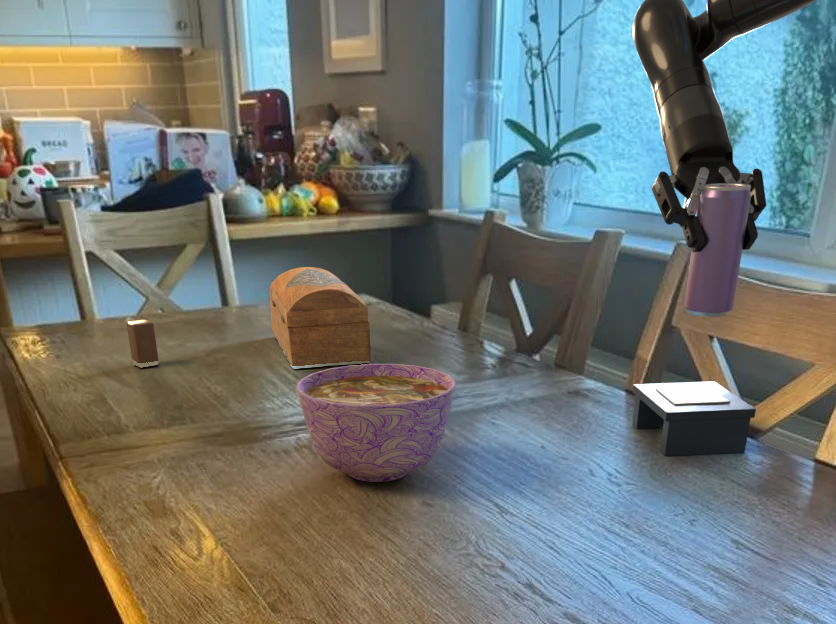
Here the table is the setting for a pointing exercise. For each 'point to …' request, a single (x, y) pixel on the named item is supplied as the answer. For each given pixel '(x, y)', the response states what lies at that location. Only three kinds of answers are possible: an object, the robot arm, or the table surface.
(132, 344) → the wooden block
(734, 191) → the beverage can
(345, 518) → the table surface
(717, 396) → the dark footstool
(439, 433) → the bowl of food
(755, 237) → the robot arm
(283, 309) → the wooden box
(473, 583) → the table surface
